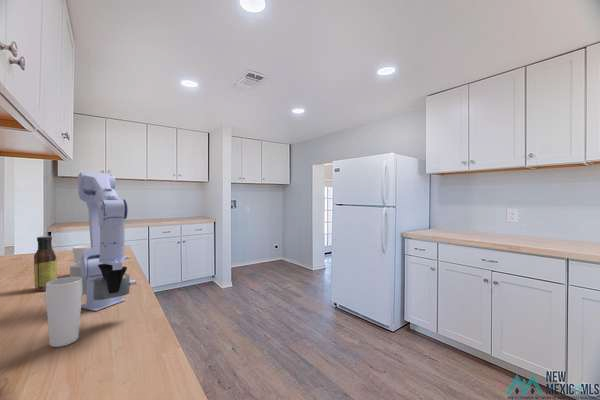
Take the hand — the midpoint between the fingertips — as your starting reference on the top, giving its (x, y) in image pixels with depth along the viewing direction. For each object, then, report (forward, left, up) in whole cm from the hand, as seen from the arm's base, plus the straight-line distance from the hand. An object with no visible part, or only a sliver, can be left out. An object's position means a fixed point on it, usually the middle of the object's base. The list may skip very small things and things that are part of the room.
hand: (112, 290), depth 76 cm
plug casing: (0, 0, -1) cm, 1 cm away
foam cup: (-25, -54, -9) cm, 60 cm away
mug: (-13, -33, -9) cm, 37 cm away
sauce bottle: (-8, -49, -9) cm, 51 cm away
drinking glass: (+12, 0, -9) cm, 15 cm away
